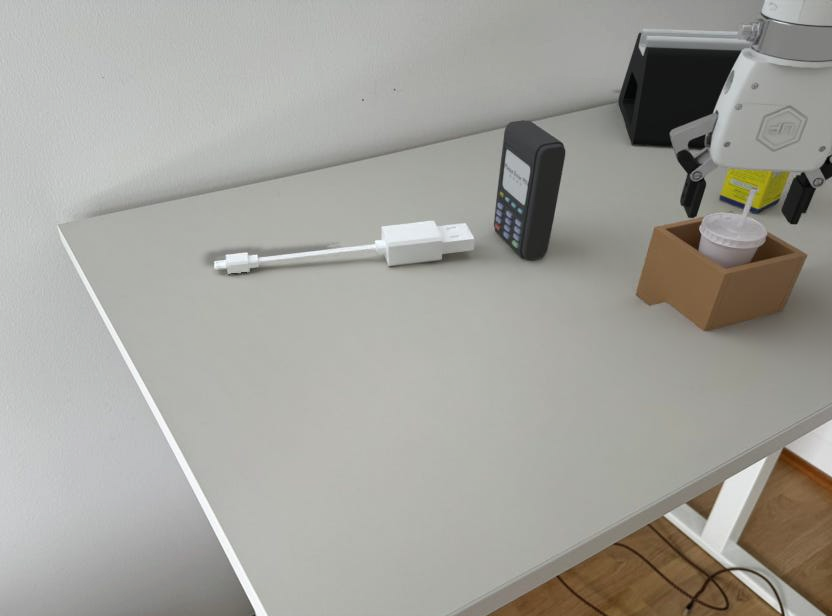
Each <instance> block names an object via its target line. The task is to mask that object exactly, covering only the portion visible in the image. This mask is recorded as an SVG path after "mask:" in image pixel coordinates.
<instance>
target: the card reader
mask: <svg viewBox="0 0 832 616" xmlns="http://www.w3.org/2000/svg"><path fill="white" fill-rule="evenodd" d="M503 132H504V133H503V141H502V149H501V158H500V166H499V176H498V183H497V190H496V200H495V209H494V210H495V211H494V219H493V228H494V232H495V233H496V234H497V235H498V236H499V237H500V239H502V240H503V241H504V242H505V243H506V244H507V245H508V246H509V247H510V248H511V249H512V250H513V251H514V252H515V253H516V254H517V255H518V256H519V257H520V258H522V259H525V260H527V261H530V260H535V259H542V258H543V257H545V256H546V254H547V252H548V249H549V245H550V240H551V234H552V230H553V224H554V220H555V213H556V208H557V203H558V197H559V192H560V187H561V181H562V176H563V170H564V163H565V159H566V148H565V145H564V143H563V142H562V141H560V140H559V139H558V138H556V137H554V135H551V134H550V133H549V132H547V131H546V130H545V129H543V128H542V127H541V126H538V125H537V124H535V123H534V122H533V121H531V120H523V119H522V120H515V121H510V122H509V123H508V124H506V126H505V128H504V131H503Z"/></svg>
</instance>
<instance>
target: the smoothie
mask: <svg viewBox="0 0 832 616" xmlns="http://www.w3.org/2000/svg"><path fill="white" fill-rule="evenodd" d="M756 191H757V188H754V187H752V188H751V190H750V193H749V196H748V199H747V201H746V204H745V207H744V209H742V213H741V214H740V213H736V212H734V213H725V212H715V213H711V214H708V215H705V216H706V217H705V216H703V217H704V218H703V220H702V223H701V225H700V228H699V230H700V233H701V239H700V244H699V250H698V251H699V252H701V253H702V254H704V255H705V256H707V257H708V258H710V259H711V260H713V261H714V262H716V263H717V264H719V265H720V266H722V267H723V268H725V269H728V268H732V267H736V266H741V265H745V264H749V263H750V261H751V260H752V258H753V256H754V254H755V252H756V251H757V249H758V247H759V246H761V245H763V244H764V242H765V238H766V236H767V233H768V232H769V230H768V229H767V226H765V225H764V224H763V223H762V222H760V221H759V220H757V219H755V218H752V217H751V216H748V215H749V213H750V211H749V210H750V208H751V205H752V202H753V199H754V197H755V194H756ZM735 213H736V214H735Z"/></svg>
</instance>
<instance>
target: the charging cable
mask: <svg viewBox="0 0 832 616" xmlns="http://www.w3.org/2000/svg"><path fill="white" fill-rule="evenodd" d="M380 229H381V239H376V240H374V243H373V244H363V245H356V246H355V245H354V246H348V247H347V246H346V247H339V248H329V249H321V250H313V251H304V252H295V253H286V254H285V253H284V254H278V255H270V256H258V254H252V255H250V254H249V253H248V251H247V252H238V253H231V254H230V253H229V254H225V259H221V260H214V261H213V269H214V271H218V270H226V272H227V275H228V274H229V273H238V274H242V273H241V272H247V273H251V269H255V268H256V269H257V268H259V267H260V266H259V265H265V264H273V263H283V262H291V261H298V260H300V261H301V260H308V259H316V258H325V257H326V258H327V257H334V256H341V255H351V254H359V253H367V252H376V255H383V256H384V258H385V261H386V264H387V266H388V267H395V266H403V265H411V264H412V265H413V264H419V263H429V262H437V261H442V260H443V255H445V254H454V253H461V252H471V251H475V237H474V235H473V233H472V232H471V230H470V228H469V226H468V225H467V222H463V223H454V224H444V225H437V224H436V222H435V220H426V221H418V222H417V221H416V222H408V223H407V222H406V223H400V224H391V225H382V226H381V228H380Z"/></svg>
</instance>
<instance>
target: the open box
mask: <svg viewBox="0 0 832 616" xmlns="http://www.w3.org/2000/svg"><path fill="white" fill-rule="evenodd" d="M724 213H735V214H737V213H736V212H735V211H734V210H733V211H732V210H730V211H725V212H724ZM706 216H707V215H705V216H701V217H695V218H690V219H687V220H682V221H677V222H672V223H667V224H663V225H656V226H654V227H653V230H652V233H651V238H650V241H649V245H648V248H647V252H646V255H645V258H644V263H643V266H642V269H641V272H640V277H639V279H638V280H639V281H638V284H637V288H636V291H635V295H636V296H637V297H638V298H639V299H641V301H643V302H645V304H646V305H648V306H656V305H659V304H663V303H667V304H668V305H669V306H671V308H673V309H675V310H676V311H677V312H678V313H680V314H681V315H682V316H683V317H685V318H686V319H688V320H689V321H690V322H691V323H692V324H694V325H695V326H697V328H699V329H700V330H701V331H703V332H707V331H710V330H716V329H718V328H722V327H726V326H730V325H734V324H737V323H741V322H746V321H749V320H753V319H756V318H757V319H758V318H761V317H765V316H768V315H773V314H777V313H781V312H783V311H784V310H785V307H786V305H787V303H788V301H789V298H790V297H791V294H792V292H793V289H794V287H795V285H796V283H797V280H798V278H799V276H800V274H801V272H802V269H803V267H804V265H805V262H806V260H807V258H808V253H806V252H804V251H802V250H801V249H799V248H797V247H795V246H793V245H792V244H790V243H788V242H787V241H785V240H783V239H781V238H780V237H778V236H776V235H775V234H773V233H771V232H769V231H768V233H767V236H766V238H765V242H764V244H763V245H761V246H759V247H758V249H757V251H756V252H755V254H754V256H753V258H752V260H751V261H750V263H749V264H745V265H741V266H736V267H732V268H728V269H725V268H723V267H722V266H720V265H719V264H717V263H716V262H714V261H713V260H711V259H710V258H708V257H707V256H705V255H704V254H702V253H701V252H699V251H698V250H699V244H700V239H701V233H700V230H699V228H700V225H701V223H702V220H703V218H704V217H706Z"/></svg>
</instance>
